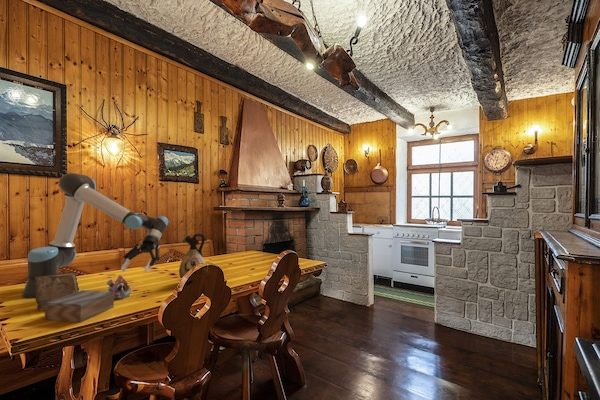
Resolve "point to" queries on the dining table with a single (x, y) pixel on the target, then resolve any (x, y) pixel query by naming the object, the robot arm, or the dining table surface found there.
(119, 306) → the dining table surface
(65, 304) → the wooden block
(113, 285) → the brake caliper
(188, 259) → the ceramic jug
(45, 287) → the mineral sample
